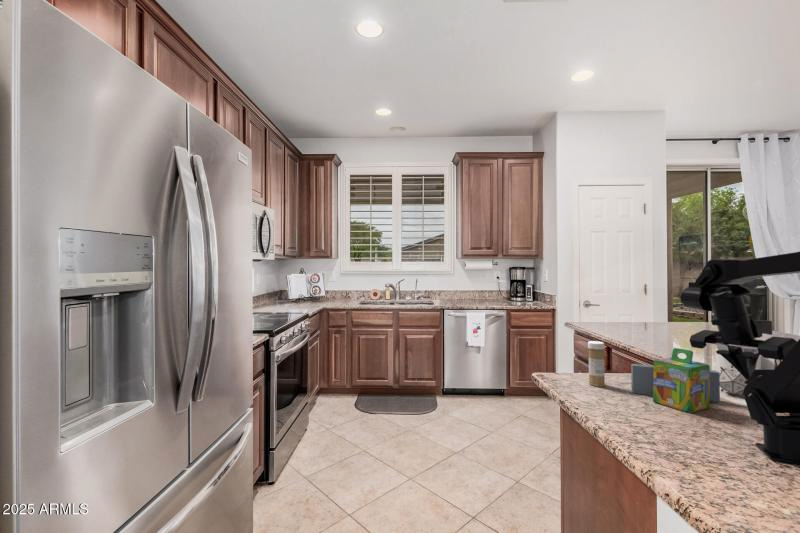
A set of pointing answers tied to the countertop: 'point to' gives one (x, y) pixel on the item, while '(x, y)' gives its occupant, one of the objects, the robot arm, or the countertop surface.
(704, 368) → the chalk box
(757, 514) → the countertop surface
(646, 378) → the board
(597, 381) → the sprinkles bottle
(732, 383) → the game die
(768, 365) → the toilet tissue
